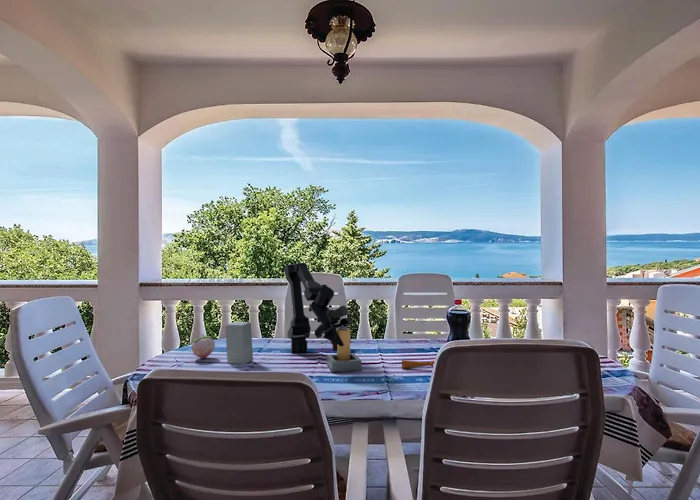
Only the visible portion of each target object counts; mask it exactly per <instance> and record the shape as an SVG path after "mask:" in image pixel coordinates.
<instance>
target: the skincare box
mask: <svg viewBox="0 0 700 500" xmlns="http://www.w3.org/2000/svg"><path fill="white" fill-rule="evenodd" d="M252 333H253V332H252V322H250V321H233V322H229V323H227V324H225V343H226V344H225V345H226V359H227V362H226V363H227V364H239V365H246V364H247V363H250V362H253V359H254V356H253V355H254V354H253V337H252Z"/></svg>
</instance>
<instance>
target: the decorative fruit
mask: <svg viewBox="0 0 700 500" xmlns="http://www.w3.org/2000/svg"><path fill="white" fill-rule="evenodd" d="M215 348H216V343H215V341H214V336H210V335H205V336H204V334H202V337H197V338H195V339H194V340H193V341H192V343H191V351H192V353H193V355H194V356H195V357H197V358H199V359H202V358H204V359H206V358H207V357H208V356H210V355H211V354H212V353H213V351H214V350H215Z"/></svg>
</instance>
